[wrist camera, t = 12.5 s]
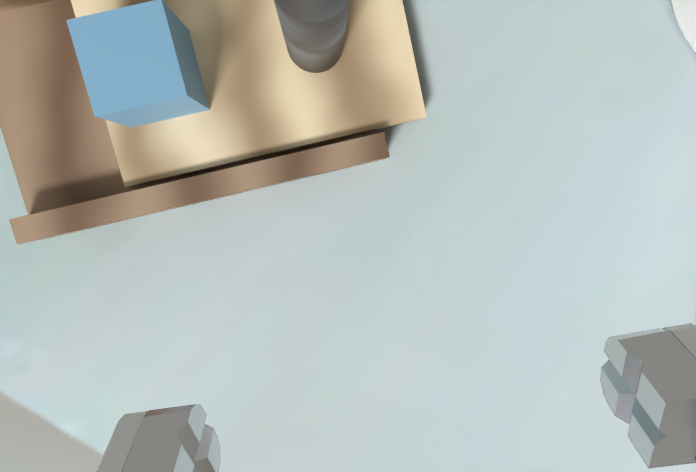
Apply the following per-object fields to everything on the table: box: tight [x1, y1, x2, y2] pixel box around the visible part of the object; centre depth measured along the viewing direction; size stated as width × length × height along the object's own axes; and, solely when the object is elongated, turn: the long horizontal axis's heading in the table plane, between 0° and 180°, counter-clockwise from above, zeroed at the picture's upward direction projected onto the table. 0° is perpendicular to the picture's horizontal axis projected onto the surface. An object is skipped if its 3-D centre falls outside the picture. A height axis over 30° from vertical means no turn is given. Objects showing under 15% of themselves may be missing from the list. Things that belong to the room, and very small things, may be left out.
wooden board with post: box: [71, 0, 427, 187], centre depth 25 cm, size 20×12×11 cm, turn 103°
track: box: [0, 0, 390, 244], centre depth 30 cm, size 24×16×3 cm, turn 103°
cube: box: [66, 0, 210, 127], centre depth 27 cm, size 5×5×5 cm
